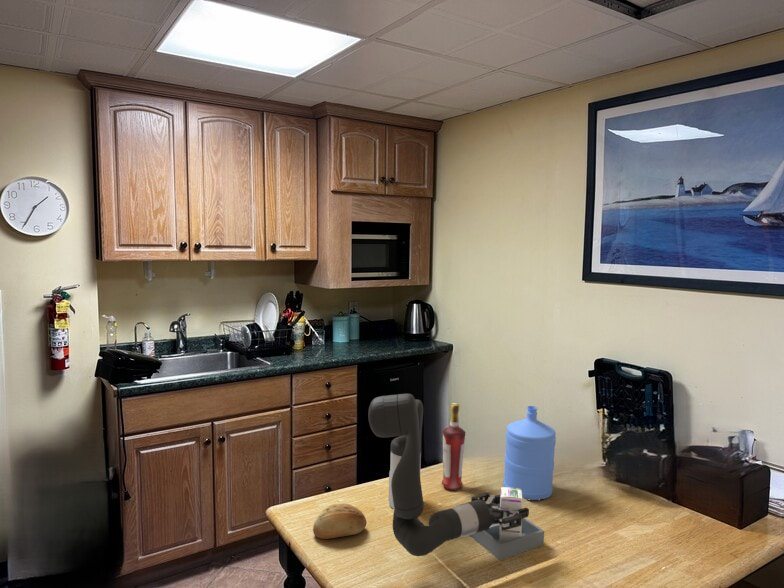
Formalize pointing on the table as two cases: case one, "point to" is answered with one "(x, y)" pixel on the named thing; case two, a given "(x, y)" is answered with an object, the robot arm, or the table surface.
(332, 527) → the bread roll
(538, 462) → the water jug
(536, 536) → the tray
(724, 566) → the table surface
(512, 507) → the syrup box
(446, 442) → the liquor
